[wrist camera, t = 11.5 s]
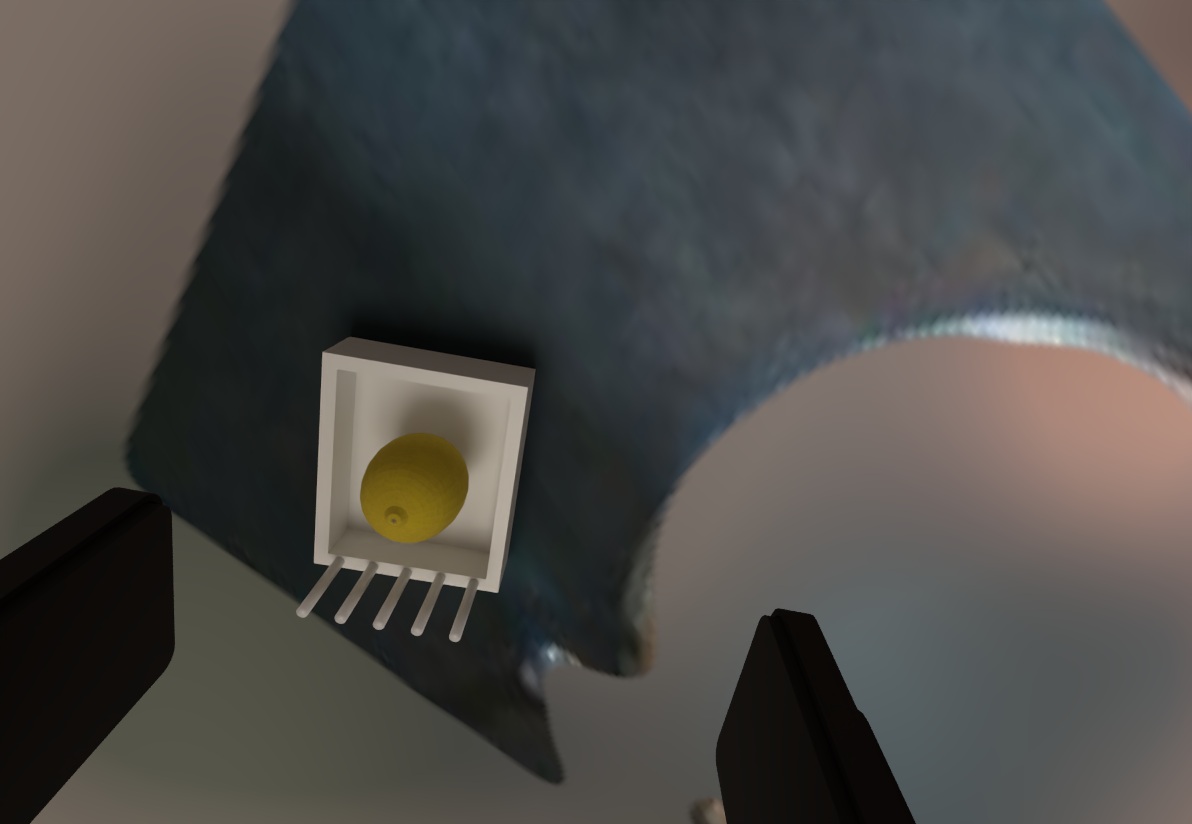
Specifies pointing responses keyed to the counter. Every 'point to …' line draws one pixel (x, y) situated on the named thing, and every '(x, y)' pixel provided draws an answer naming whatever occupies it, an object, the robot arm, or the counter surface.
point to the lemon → (414, 487)
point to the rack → (404, 406)
